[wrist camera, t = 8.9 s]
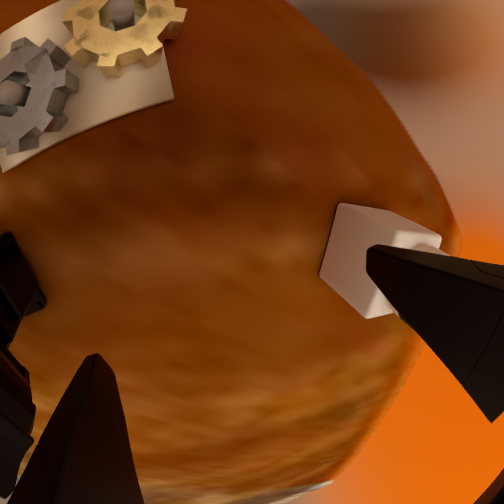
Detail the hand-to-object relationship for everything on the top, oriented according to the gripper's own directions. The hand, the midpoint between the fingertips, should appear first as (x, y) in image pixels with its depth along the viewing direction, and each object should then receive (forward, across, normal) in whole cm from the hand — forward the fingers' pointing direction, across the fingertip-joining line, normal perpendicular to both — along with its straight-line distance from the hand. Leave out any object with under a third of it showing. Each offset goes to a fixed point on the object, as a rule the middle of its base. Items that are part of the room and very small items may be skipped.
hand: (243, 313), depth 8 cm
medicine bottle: (+12, -14, +8) cm, 20 cm away
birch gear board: (+12, +5, -12) cm, 18 cm away
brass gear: (+11, +1, -12) cm, 16 cm away
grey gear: (+11, +8, -10) cm, 17 cm away
